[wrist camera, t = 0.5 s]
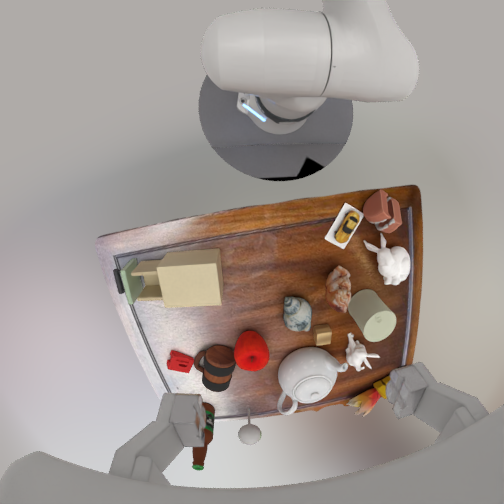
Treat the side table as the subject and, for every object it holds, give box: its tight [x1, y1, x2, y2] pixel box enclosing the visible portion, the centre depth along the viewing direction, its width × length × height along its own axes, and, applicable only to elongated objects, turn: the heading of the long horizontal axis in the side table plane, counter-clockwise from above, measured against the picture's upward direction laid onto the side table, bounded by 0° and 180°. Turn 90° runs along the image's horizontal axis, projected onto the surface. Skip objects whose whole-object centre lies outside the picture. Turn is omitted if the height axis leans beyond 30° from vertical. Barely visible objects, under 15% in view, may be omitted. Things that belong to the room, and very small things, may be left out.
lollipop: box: [238, 408, 261, 445], centre depth 76 cm, size 7×7×15 cm
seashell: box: [283, 297, 312, 331], centre depth 68 cm, size 6×8×12 cm
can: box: [348, 289, 396, 342], centre depth 65 cm, size 9×9×12 cm
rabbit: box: [363, 233, 410, 285], centre depth 63 cm, size 12×9×12 cm
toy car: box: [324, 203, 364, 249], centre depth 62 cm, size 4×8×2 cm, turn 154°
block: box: [313, 324, 332, 346], centre depth 71 cm, size 4×4×4 cm
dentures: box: [363, 189, 402, 233], centre depth 60 cm, size 9×7×8 cm
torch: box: [346, 376, 391, 417], centre depth 79 cm, size 8×8×25 cm
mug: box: [194, 345, 236, 392], centre depth 72 cm, size 9×12×12 cm
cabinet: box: [157, 248, 224, 308], centre depth 61 cm, size 13×10×10 cm
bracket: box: [167, 350, 194, 373], centre depth 73 cm, size 6×5×3 cm
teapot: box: [277, 347, 348, 415], centre depth 71 cm, size 19×18×14 cm
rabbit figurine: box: [346, 333, 380, 371], centre depth 72 cm, size 12×8×10 cm, turn 3°
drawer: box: [113, 258, 163, 304], centre depth 61 cm, size 15×8×8 cm, turn 94°
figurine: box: [325, 266, 351, 313], centre depth 61 cm, size 6×8×15 cm
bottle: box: [192, 403, 215, 470], centre depth 71 cm, size 7×7×25 cm
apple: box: [234, 331, 269, 371], centre depth 68 cm, size 9×9×11 cm
